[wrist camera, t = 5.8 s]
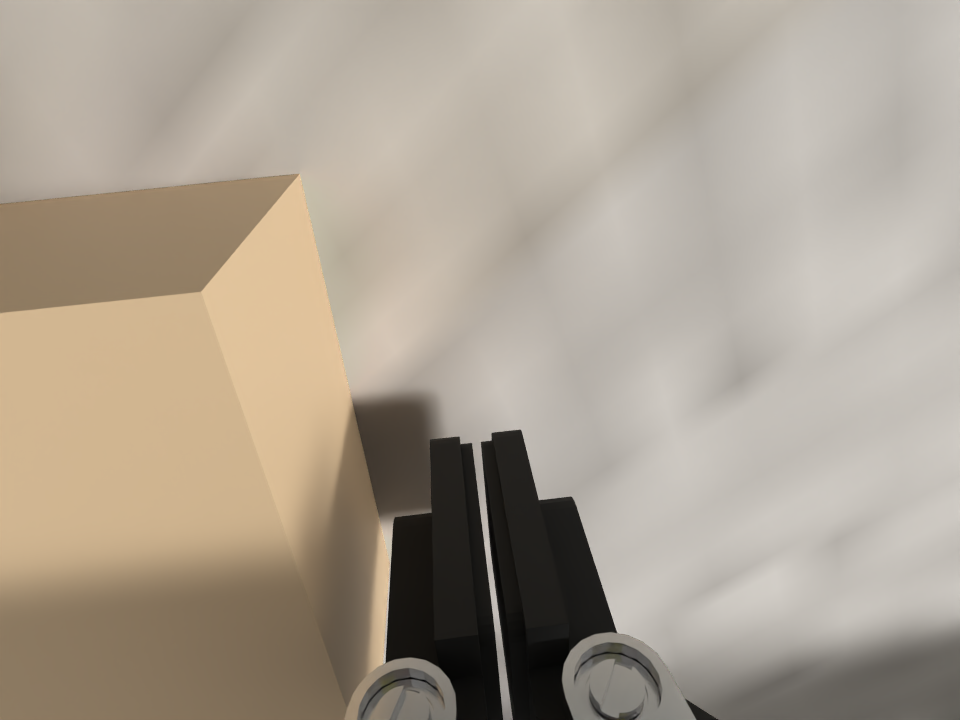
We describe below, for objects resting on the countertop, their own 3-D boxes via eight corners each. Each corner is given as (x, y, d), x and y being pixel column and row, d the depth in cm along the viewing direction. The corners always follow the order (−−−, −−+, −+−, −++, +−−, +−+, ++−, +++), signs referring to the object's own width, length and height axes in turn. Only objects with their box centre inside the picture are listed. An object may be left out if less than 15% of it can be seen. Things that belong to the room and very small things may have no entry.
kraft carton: (303, 169, 10) (201, 291, 5) (390, 552, 14) (374, 787, 10) (-331, 232, 9) (-996, 418, 5) (-33, 602, 14) (-243, 867, 9)
